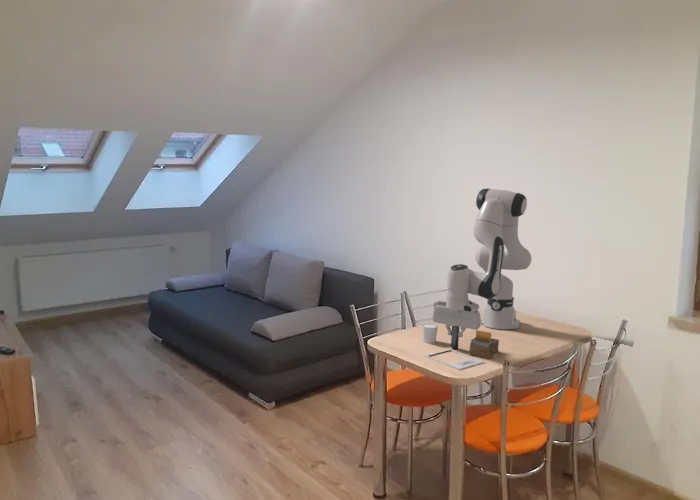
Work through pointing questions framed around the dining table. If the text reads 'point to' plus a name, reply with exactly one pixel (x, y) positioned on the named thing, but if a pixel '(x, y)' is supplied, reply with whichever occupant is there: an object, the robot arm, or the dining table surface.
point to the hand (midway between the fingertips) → (455, 335)
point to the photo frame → (460, 364)
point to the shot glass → (429, 333)
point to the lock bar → (482, 339)
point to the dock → (484, 349)
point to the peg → (455, 337)
